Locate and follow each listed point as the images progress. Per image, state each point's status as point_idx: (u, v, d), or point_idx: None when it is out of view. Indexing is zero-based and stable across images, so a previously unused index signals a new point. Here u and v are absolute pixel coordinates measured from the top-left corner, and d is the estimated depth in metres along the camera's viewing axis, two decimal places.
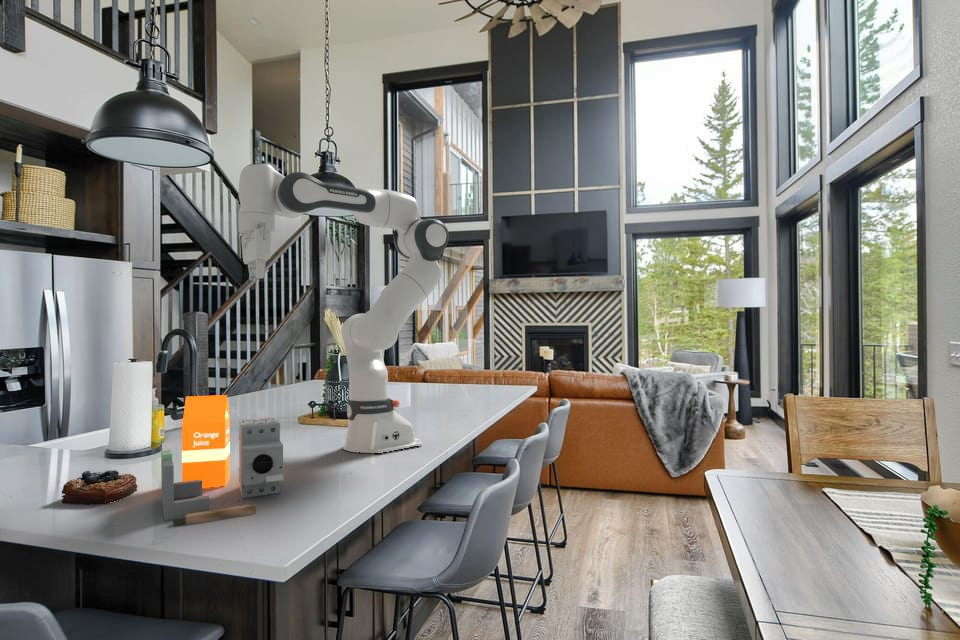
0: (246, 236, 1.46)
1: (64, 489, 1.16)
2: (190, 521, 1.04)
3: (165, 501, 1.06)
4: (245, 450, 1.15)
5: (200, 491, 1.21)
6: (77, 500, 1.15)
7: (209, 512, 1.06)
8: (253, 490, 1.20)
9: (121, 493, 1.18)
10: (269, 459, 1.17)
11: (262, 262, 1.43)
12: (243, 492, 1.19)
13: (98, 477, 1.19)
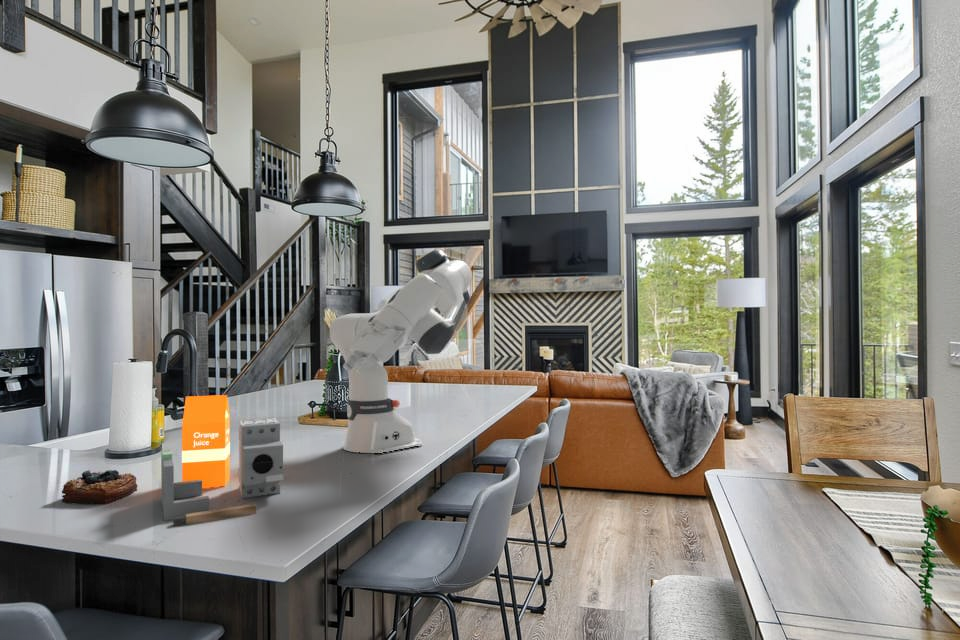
0: (377, 328, 1.33)
1: (64, 489, 1.16)
2: (191, 521, 1.04)
3: (165, 501, 1.06)
4: (245, 450, 1.15)
5: (200, 491, 1.21)
6: (77, 500, 1.15)
7: (209, 512, 1.06)
8: (253, 490, 1.20)
9: (121, 492, 1.18)
10: (269, 459, 1.17)
11: (373, 360, 1.28)
12: (243, 492, 1.19)
13: (98, 477, 1.19)
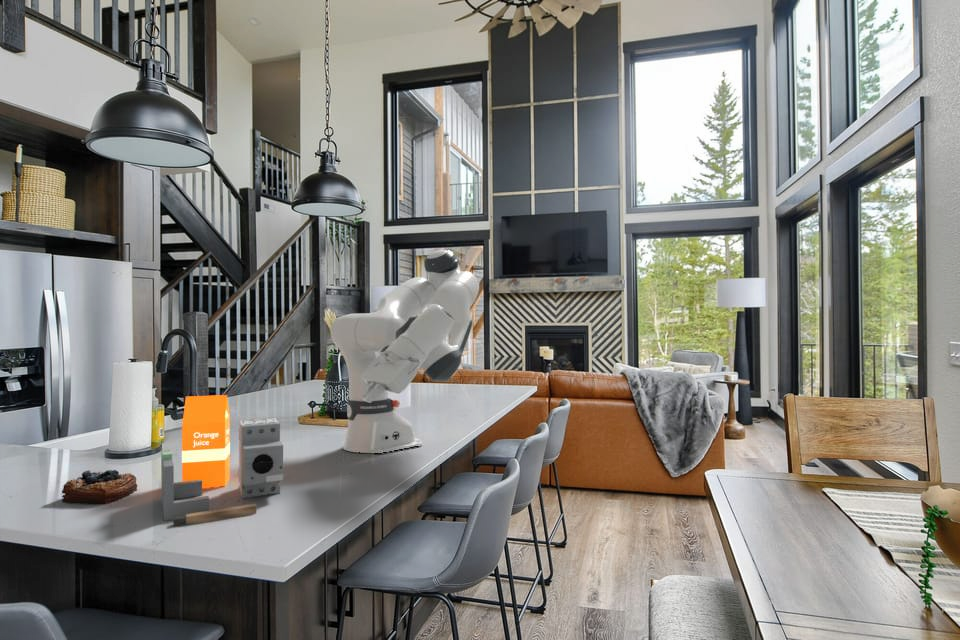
0: (390, 359, 1.34)
1: (64, 489, 1.16)
2: (191, 521, 1.04)
3: (165, 501, 1.06)
4: (245, 450, 1.15)
5: (200, 491, 1.21)
6: (77, 500, 1.15)
7: (209, 512, 1.06)
8: (253, 490, 1.20)
9: (121, 492, 1.18)
10: (269, 459, 1.17)
11: (381, 389, 1.32)
12: (243, 492, 1.19)
13: (98, 477, 1.20)
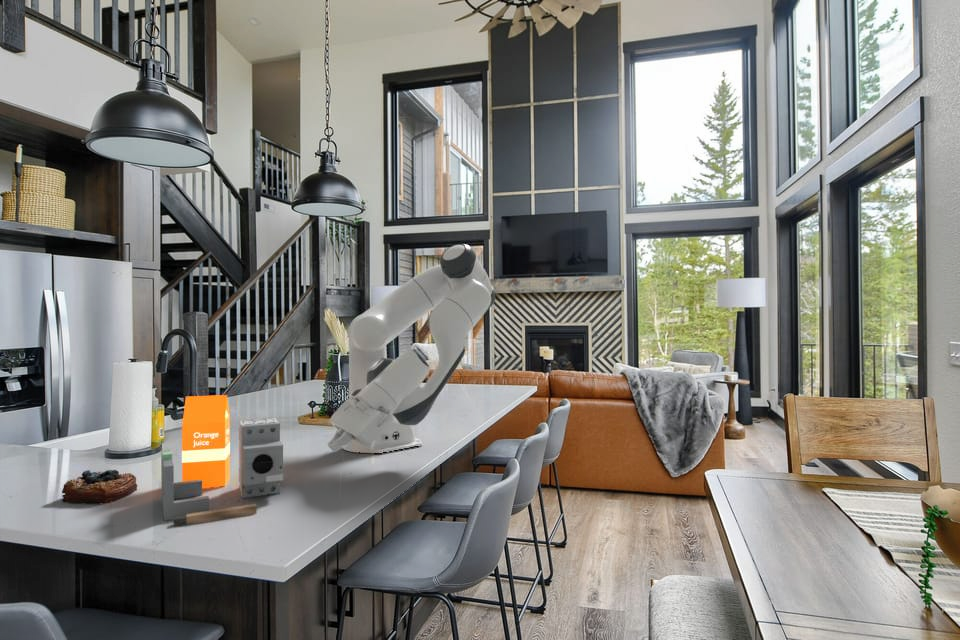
0: (360, 406, 1.30)
1: (64, 488, 1.16)
2: (191, 521, 1.04)
3: (165, 501, 1.06)
4: (245, 450, 1.15)
5: (200, 491, 1.21)
6: (77, 499, 1.15)
7: (210, 512, 1.06)
8: (253, 490, 1.20)
9: (121, 492, 1.18)
10: (269, 459, 1.17)
11: (348, 438, 1.27)
12: (243, 492, 1.19)
13: (98, 476, 1.20)
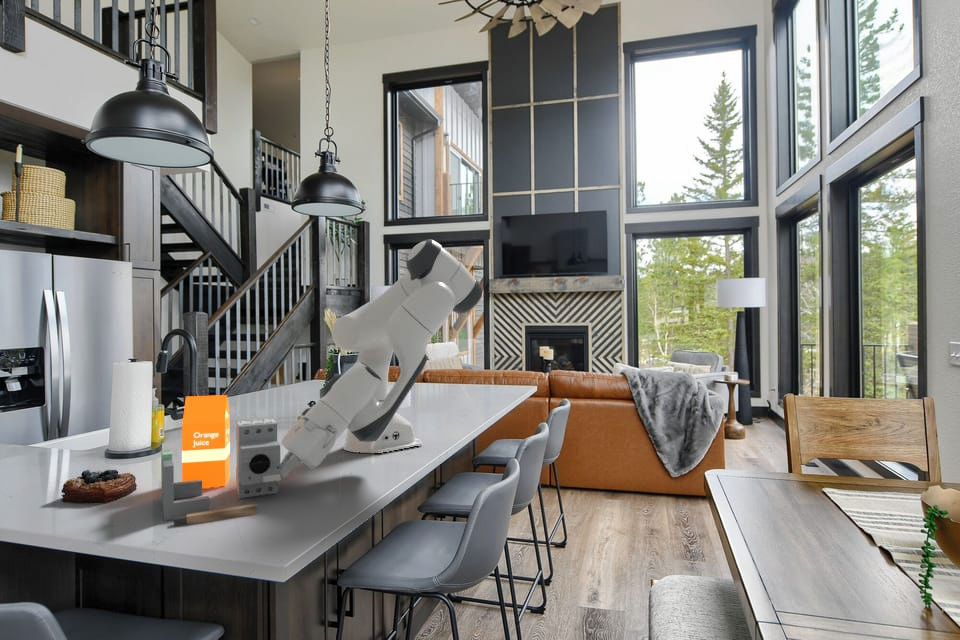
0: (308, 427, 1.24)
1: (64, 488, 1.17)
2: (191, 521, 1.04)
3: (165, 501, 1.06)
4: (242, 450, 1.15)
5: (200, 491, 1.21)
6: (77, 499, 1.16)
7: (210, 512, 1.06)
8: (250, 490, 1.19)
9: (120, 492, 1.18)
10: (266, 459, 1.16)
11: (296, 462, 1.22)
12: (240, 492, 1.19)
13: (98, 476, 1.20)
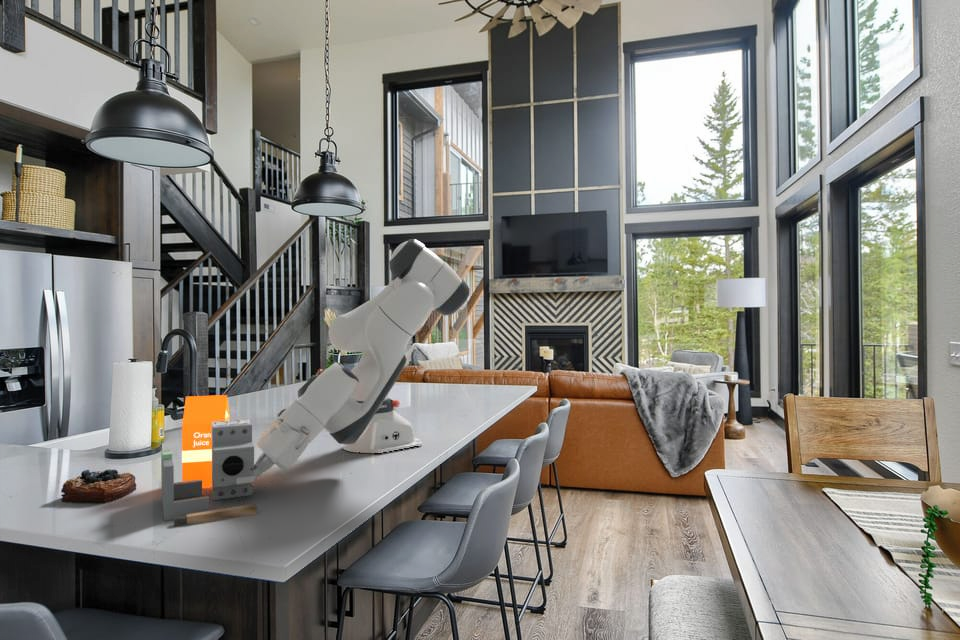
0: (282, 428, 1.22)
1: (64, 488, 1.17)
2: (191, 521, 1.04)
3: (165, 501, 1.06)
4: (215, 452, 1.13)
5: (200, 491, 1.21)
6: (77, 499, 1.16)
7: (210, 512, 1.06)
8: (224, 492, 1.18)
9: (120, 492, 1.18)
10: (239, 461, 1.15)
11: (270, 463, 1.20)
12: (214, 494, 1.17)
13: (97, 476, 1.20)
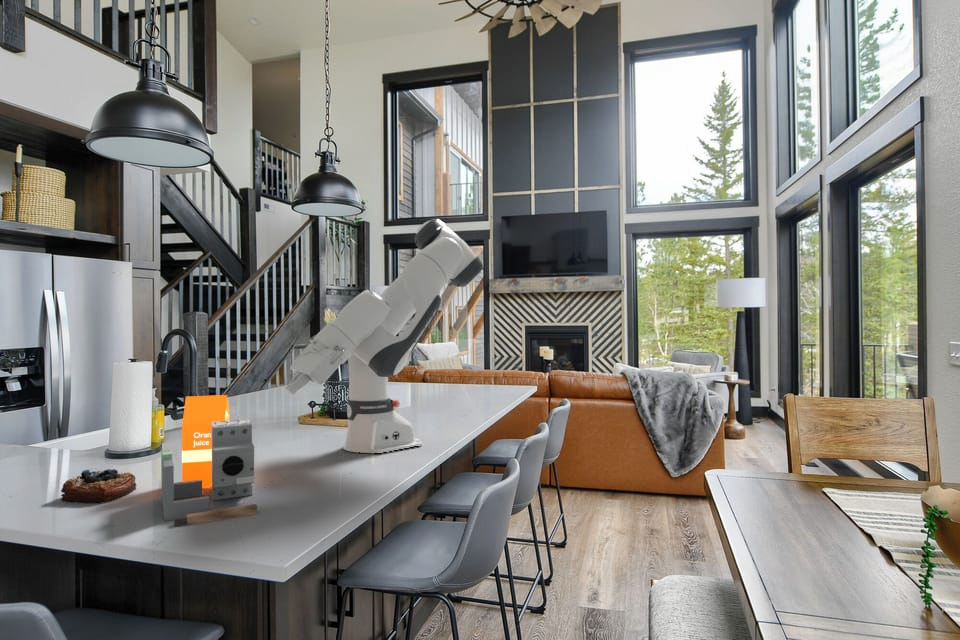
0: (316, 347, 1.26)
1: (64, 488, 1.17)
2: (192, 521, 1.04)
3: (165, 501, 1.06)
4: (215, 452, 1.13)
5: (200, 491, 1.21)
6: (77, 499, 1.16)
7: (210, 512, 1.06)
8: (224, 492, 1.18)
9: (120, 491, 1.19)
10: (239, 461, 1.15)
11: (305, 380, 1.24)
12: (214, 494, 1.17)
13: (97, 476, 1.20)
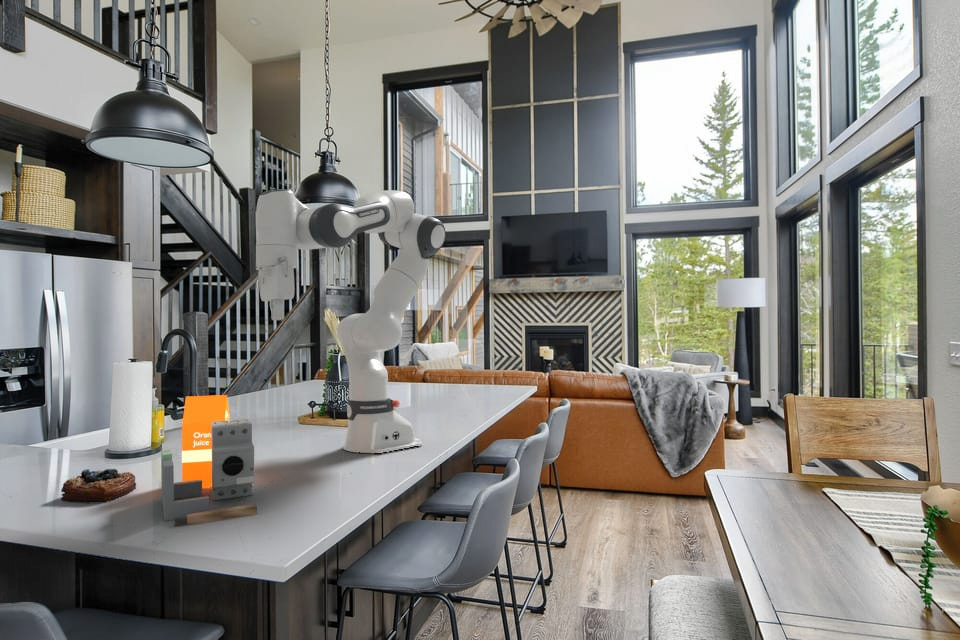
0: (265, 272, 1.28)
1: (64, 487, 1.17)
2: (192, 521, 1.04)
3: (165, 501, 1.06)
4: (215, 452, 1.13)
5: (200, 491, 1.21)
6: (77, 498, 1.16)
7: (210, 512, 1.06)
8: (224, 492, 1.18)
9: (120, 491, 1.19)
10: (239, 461, 1.15)
11: (280, 302, 1.29)
12: (214, 494, 1.17)
13: (97, 475, 1.21)
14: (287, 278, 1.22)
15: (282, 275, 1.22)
